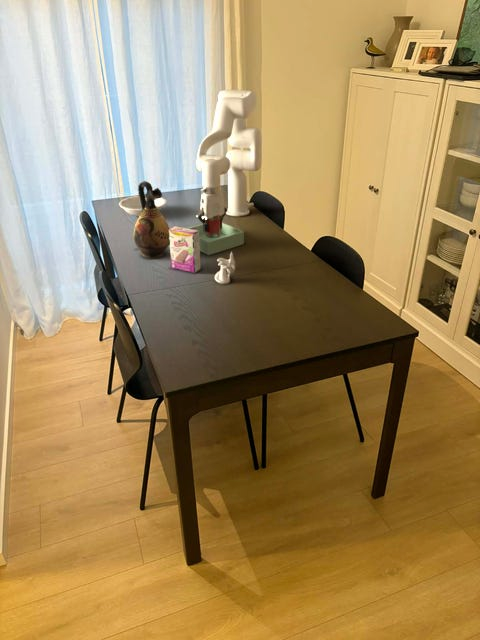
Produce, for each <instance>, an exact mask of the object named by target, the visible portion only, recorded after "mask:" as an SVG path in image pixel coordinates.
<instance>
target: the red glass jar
mask: <svg viewBox="0 0 480 640" xmlns="http://www.w3.org/2000/svg"><path fill="white" fill-rule="evenodd" d="M205 219H206V218H205ZM207 224H208V228H209V232H208V233H206V232H205V236H206V237H207V238H218V237H220V215H216V216H213V218H209V219H208V222H207Z"/></svg>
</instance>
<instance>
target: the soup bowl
mask: <svg viewBox="0 0 480 640" xmlns="http://www.w3.org/2000/svg"><path fill="white" fill-rule="evenodd" d="M145 199H146V197H145ZM154 202H155V206H156V207H157V209H158V210H159V211H160V212H161V211H162V210H163V208H164V206H166V205H167V204H168V200H167V199H166V198H164V197H163V196H162V197H161V198H159V199H156V200H154ZM118 206H119V207H120V208H122V209H123V210H124V211H125V212H126V213H127V214H128V215H131V216H133V217H137V218H139V216H140V214H141V211H142V206H141V202H140V197H139V195H133V196H129V197H126V198H124V199H121V200H120V201H119V203H118Z"/></svg>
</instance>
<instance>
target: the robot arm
mask: <svg viewBox="0 0 480 640" xmlns="http://www.w3.org/2000/svg"><path fill="white" fill-rule="evenodd" d="M217 99H218V101H217V103H216V107H215V112H214V117H213V118H214V119H213V124H212V130H211V131H210V132H209V133H208V134H207V135H206V136H205V137H204V138H203V139H202V140H201V142H200V144H199V147H198V150H197V155H196V168H197V169H196V170H198V172H201V179H202V181H201V183H202V188H201V189H200V193H201V197H200V210H199V212H198V213H197V215H196V219H198V221H199V222H200V223H201V224H203V231H204V232H206V233H208V232H209V228H208V224H207V222H208V219H209V218H213V216H216V215H220V229H222V223H223V220H224V217H225V216H226V215H227V216H230V217H244V216H247V215H249V214H250V211H251V210H250V209H249V208H252V207H254V206H255V204H254V202H248V197H247V196H248V179H247V178H248V177H247V176H246V174H245V172H244V171H246V172H247V171H248V172H249V171H250V172H257V171H259V170H260V169H261V167H262V162H263V161H262V160H263V159H262V155H263V153H262V152H263V151H262V149H263V148H262V145H263V143H262V132H261V129H259V128H258V127H256V126H247V125H246V122H247V121H246V120H247V119H249V118H250V116H251V115H252V113H253V112H254V111H255V109H256V106H257V103H258V99H257V95H256V92H254V91H253V90H247V89H223V90H221V91H219V93H218V95H217ZM227 140H228V145H229V146H230V147H232V148H235V149H230V150H228V151H227V152H226V155H221V154H220V155H219V154H208V151H209V150H210V148H212V147H213V146H214V145H217V144H219V143H221V142H223V141H227ZM236 148H237V149H236ZM239 148H240V149H239ZM225 174H227V207H228V208H227V207H225V201H224V200H225V199H224V194H223V192H222V190H221V176H222V175H225ZM205 218H206V219H205Z"/></svg>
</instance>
